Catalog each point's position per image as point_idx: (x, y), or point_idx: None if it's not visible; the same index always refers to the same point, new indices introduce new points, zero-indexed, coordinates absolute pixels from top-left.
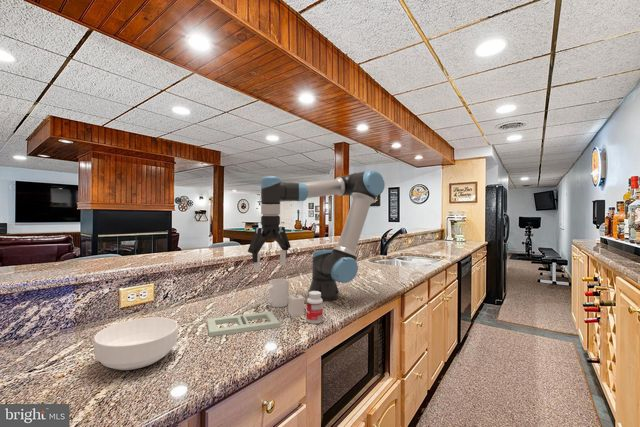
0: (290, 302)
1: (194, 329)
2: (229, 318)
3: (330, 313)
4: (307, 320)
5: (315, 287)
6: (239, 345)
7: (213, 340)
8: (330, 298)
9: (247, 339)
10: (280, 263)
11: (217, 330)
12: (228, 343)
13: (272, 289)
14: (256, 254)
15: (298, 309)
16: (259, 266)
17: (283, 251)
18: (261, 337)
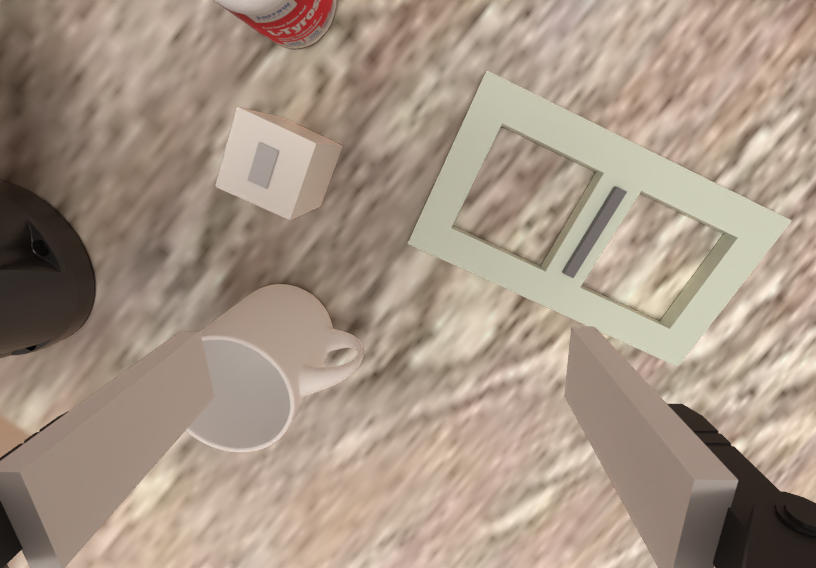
0: (312, 180)
1: (749, 331)
2: (611, 303)
3: (144, 24)
4: (333, 9)
5: (15, 282)
6: (769, 28)
7: (792, 170)
8: (6, 186)
9: (695, 62)
10: (200, 404)
11: (753, 214)
12: (780, 89)
13: (306, 366)
14: (743, 505)
15: (299, 128)
16: (595, 353)
17: (49, 479)
18: (637, 30)
